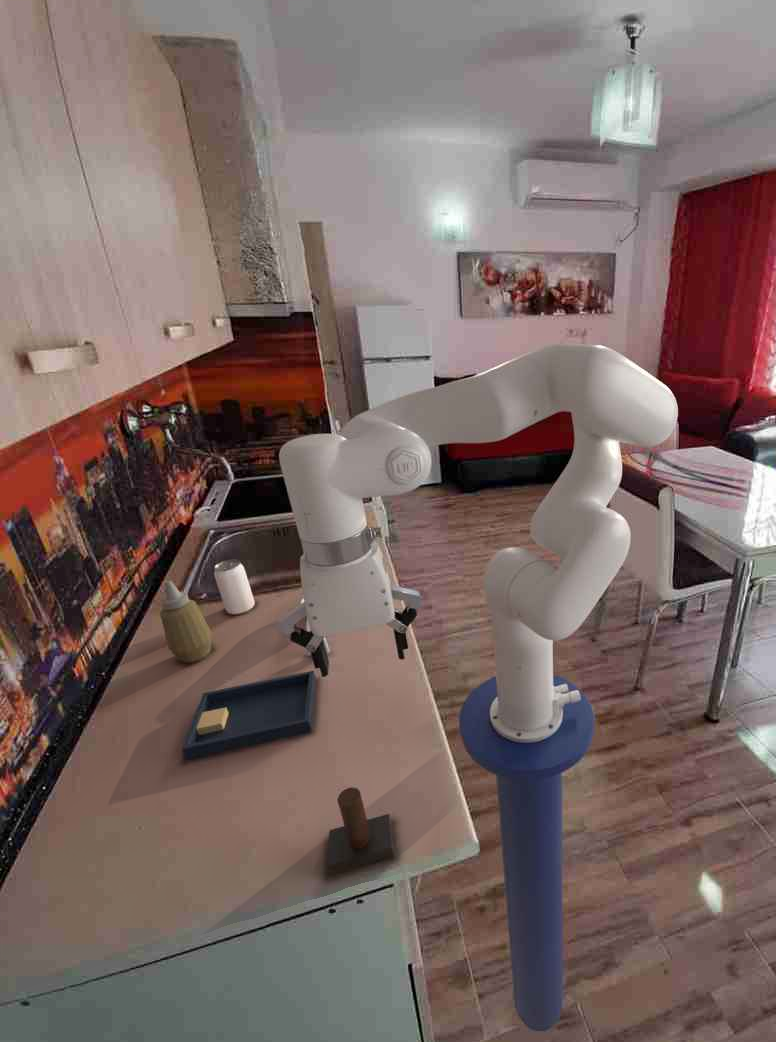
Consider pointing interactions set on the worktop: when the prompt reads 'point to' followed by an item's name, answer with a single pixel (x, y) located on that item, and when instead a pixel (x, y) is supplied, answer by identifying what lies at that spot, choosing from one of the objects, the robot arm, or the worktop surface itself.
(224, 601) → the can
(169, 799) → the worktop surface
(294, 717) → the tray
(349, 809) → the stamp with brown handle
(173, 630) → the squeeze bottle
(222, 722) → the yellow square block
